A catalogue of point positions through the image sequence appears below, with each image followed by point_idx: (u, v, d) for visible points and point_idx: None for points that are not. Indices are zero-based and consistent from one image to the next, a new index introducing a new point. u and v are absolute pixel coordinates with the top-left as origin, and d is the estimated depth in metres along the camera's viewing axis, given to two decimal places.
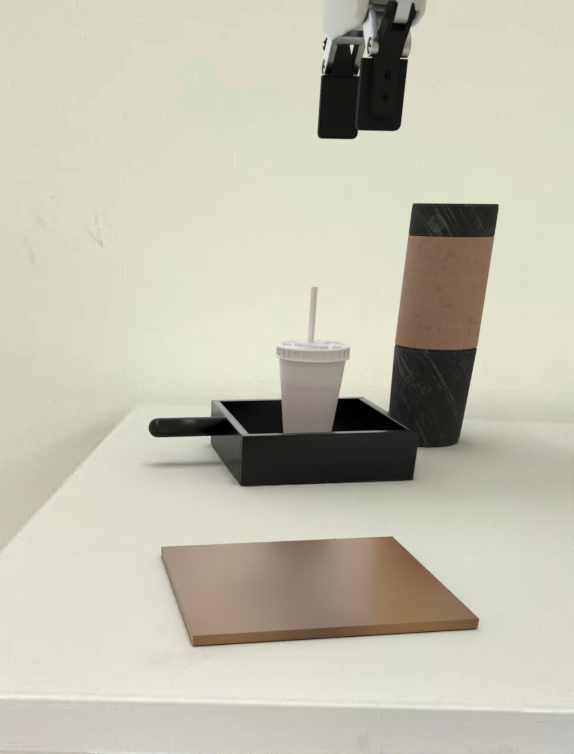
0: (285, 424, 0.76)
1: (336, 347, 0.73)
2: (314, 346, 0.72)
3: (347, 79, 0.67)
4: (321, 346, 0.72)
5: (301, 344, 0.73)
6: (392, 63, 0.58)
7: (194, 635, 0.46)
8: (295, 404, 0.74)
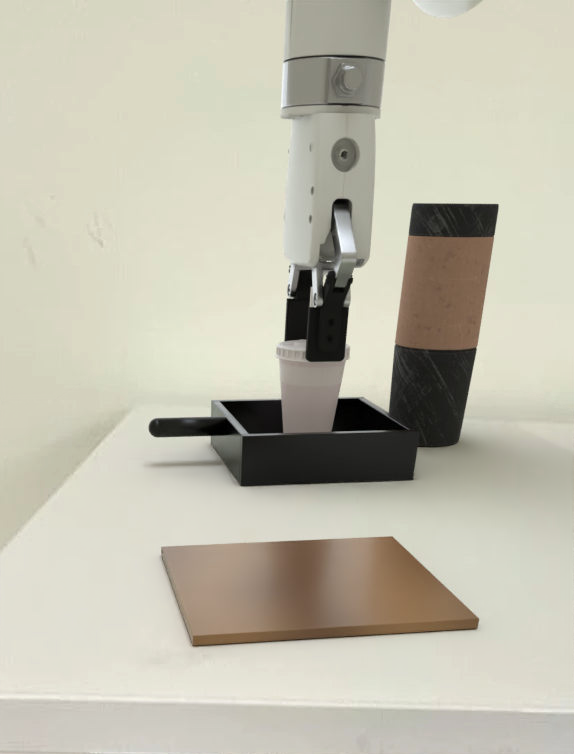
0: (285, 424, 0.76)
1: None
2: None
3: None
4: None
5: (301, 344, 0.73)
6: (335, 313, 0.68)
7: (194, 635, 0.46)
8: (295, 404, 0.74)
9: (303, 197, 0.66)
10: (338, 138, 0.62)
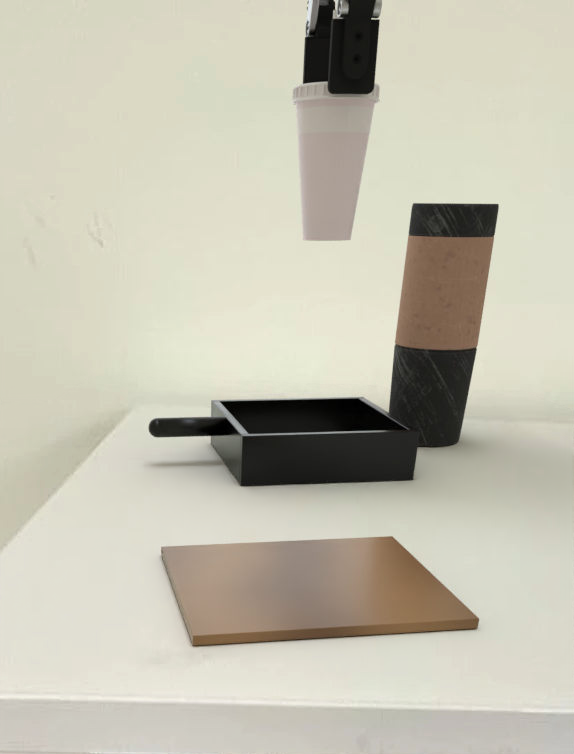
0: (303, 190, 0.66)
1: None
2: None
3: None
4: None
5: None
6: (363, 23, 0.57)
7: (194, 635, 0.46)
8: (315, 159, 0.64)
9: None
10: None
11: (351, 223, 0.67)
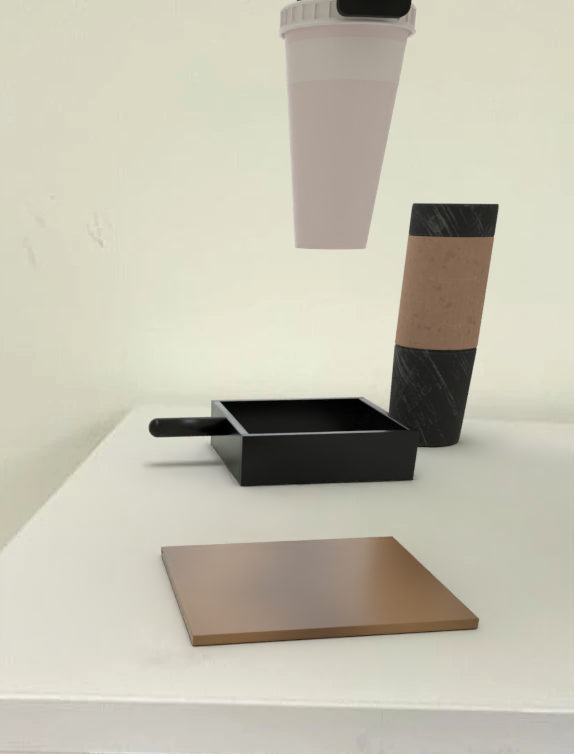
0: (296, 172, 0.43)
1: None
2: None
3: None
4: None
5: None
6: None
7: (194, 635, 0.46)
8: (314, 123, 0.41)
9: None
10: None
11: (368, 223, 0.44)
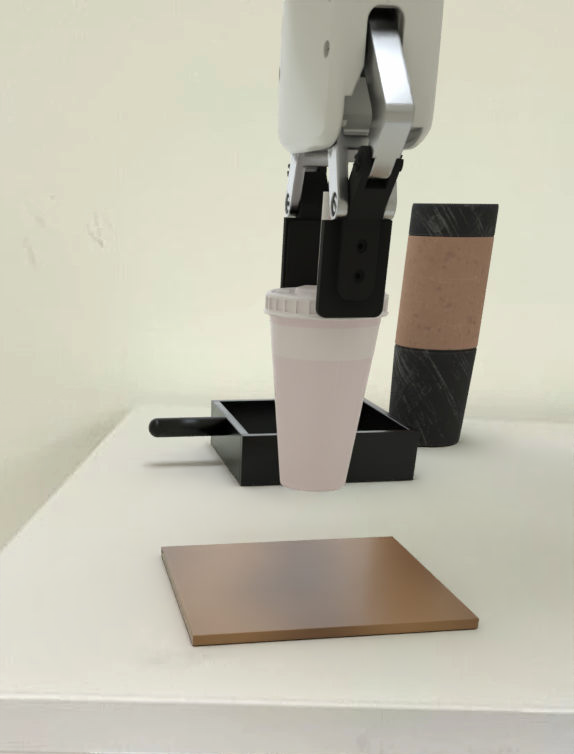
0: (280, 425, 0.47)
1: None
2: None
3: None
4: None
5: (307, 291, 0.44)
6: (369, 229, 0.39)
7: (194, 635, 0.46)
8: (297, 392, 0.45)
9: (313, 12, 0.36)
10: None
11: (346, 467, 0.48)
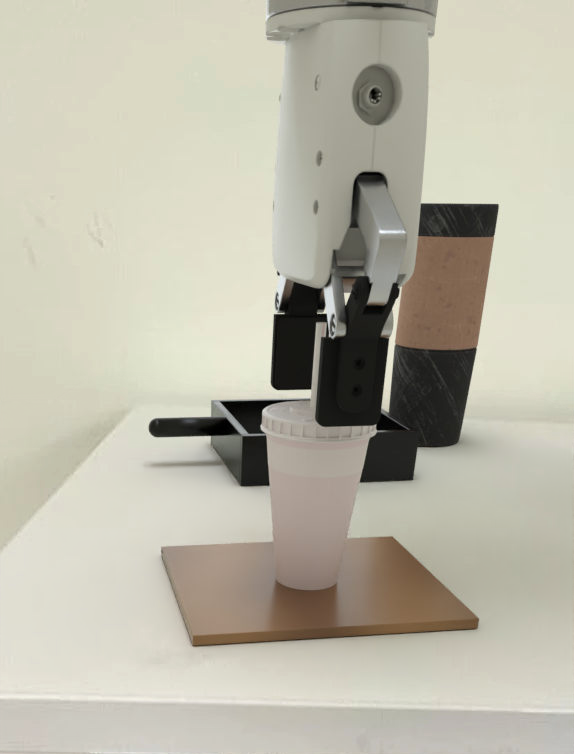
0: (276, 529, 0.50)
1: None
2: None
3: (309, 319, 0.49)
4: None
5: (301, 411, 0.47)
6: (366, 347, 0.40)
7: (194, 635, 0.46)
8: (291, 503, 0.48)
9: (304, 171, 0.39)
10: (365, 65, 0.36)
11: (338, 567, 0.51)
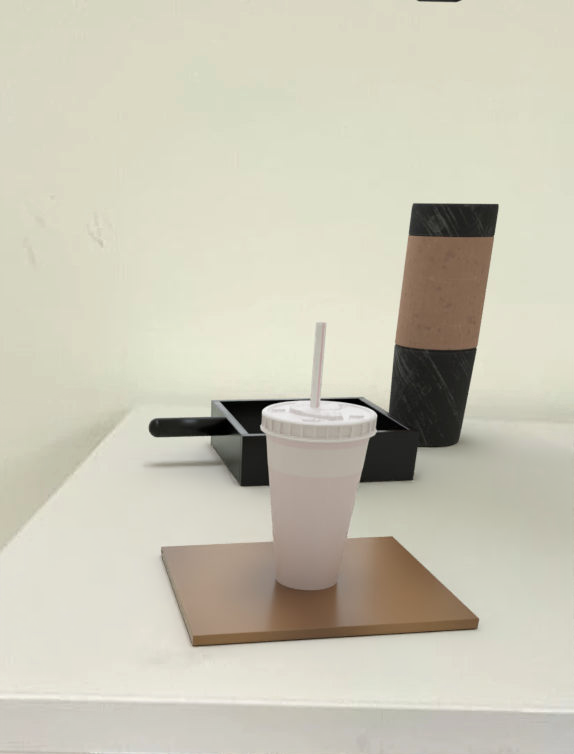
0: (276, 529, 0.50)
1: (355, 417, 0.46)
2: (321, 415, 0.46)
3: None
4: (332, 416, 0.46)
5: (300, 411, 0.47)
6: None
7: (194, 635, 0.46)
8: (291, 503, 0.48)
9: None
10: None
11: (338, 567, 0.51)
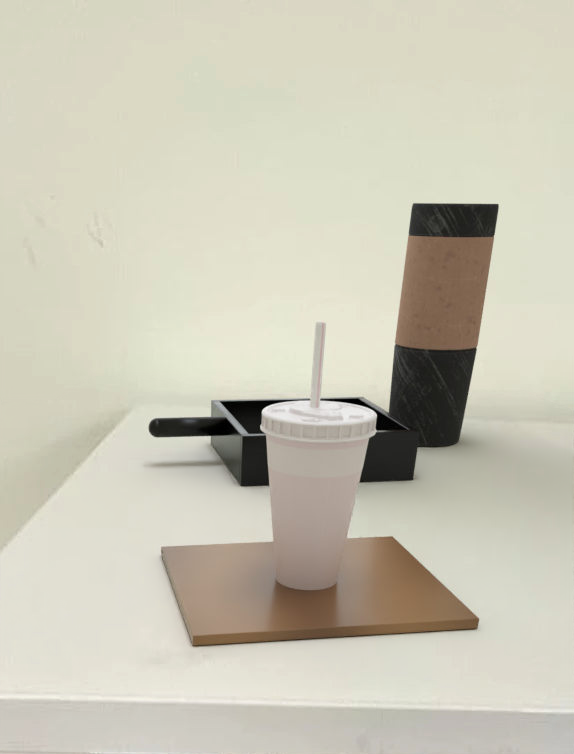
0: (276, 529, 0.50)
1: (355, 416, 0.46)
2: (321, 415, 0.46)
3: None
4: (332, 416, 0.46)
5: (300, 411, 0.47)
6: None
7: (194, 635, 0.46)
8: (291, 503, 0.48)
9: None
10: None
11: (338, 567, 0.51)
